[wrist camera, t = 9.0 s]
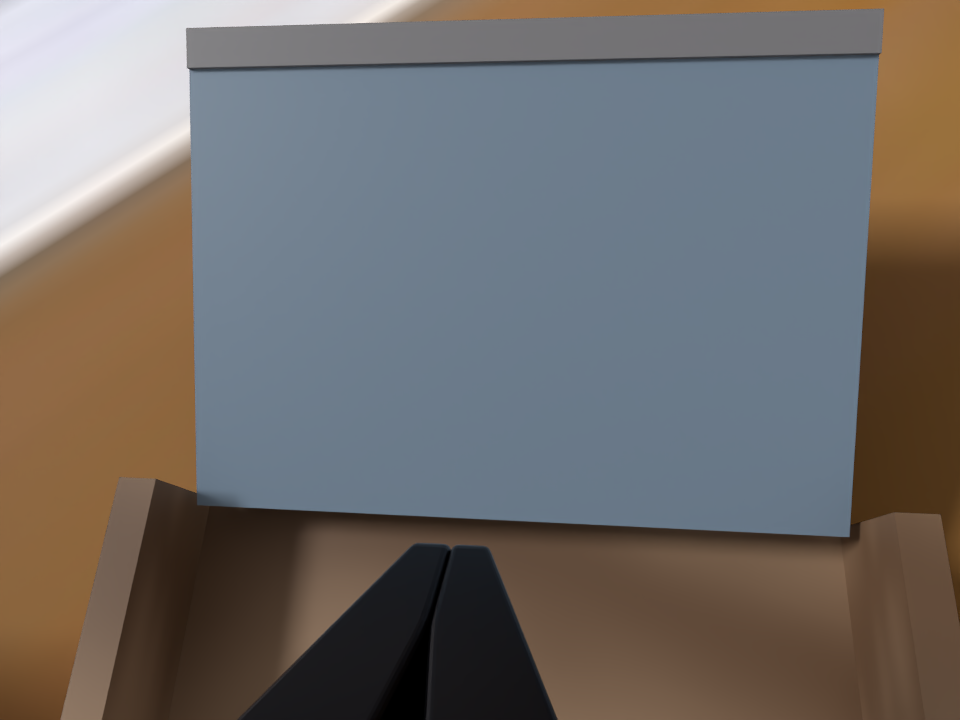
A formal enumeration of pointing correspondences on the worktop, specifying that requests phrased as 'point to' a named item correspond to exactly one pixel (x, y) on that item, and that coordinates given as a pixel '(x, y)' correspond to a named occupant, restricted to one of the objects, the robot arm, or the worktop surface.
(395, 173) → the tailgate
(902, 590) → the tray
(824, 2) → the worktop surface
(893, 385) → the worktop surface
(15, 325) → the worktop surface
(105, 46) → the worktop surface
